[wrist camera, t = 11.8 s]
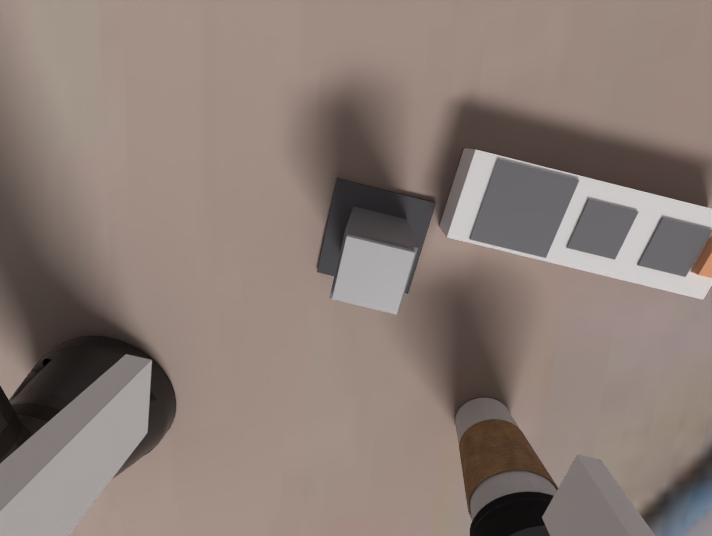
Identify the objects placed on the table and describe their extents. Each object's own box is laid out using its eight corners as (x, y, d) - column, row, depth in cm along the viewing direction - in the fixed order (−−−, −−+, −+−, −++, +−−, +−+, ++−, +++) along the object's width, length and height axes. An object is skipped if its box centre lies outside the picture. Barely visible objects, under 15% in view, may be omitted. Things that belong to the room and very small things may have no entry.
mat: (317, 270, 36) (317, 272, 36) (337, 178, 33) (337, 178, 33) (407, 292, 36) (407, 293, 36) (435, 202, 33) (435, 203, 33)
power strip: (439, 226, 34) (448, 239, 30) (463, 148, 32) (478, 149, 27) (738, 299, 35) (792, 323, 30) (784, 228, 33) (849, 243, 28)
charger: (341, 257, 35) (328, 301, 26) (353, 206, 34) (344, 232, 24) (392, 270, 35) (398, 317, 26) (407, 219, 34) (419, 250, 24)
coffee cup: (442, 388, 40) (479, 526, 26) (524, 385, 39) (607, 525, 25) (443, 450, 43) (476, 605, 28) (519, 448, 42) (592, 606, 28)
